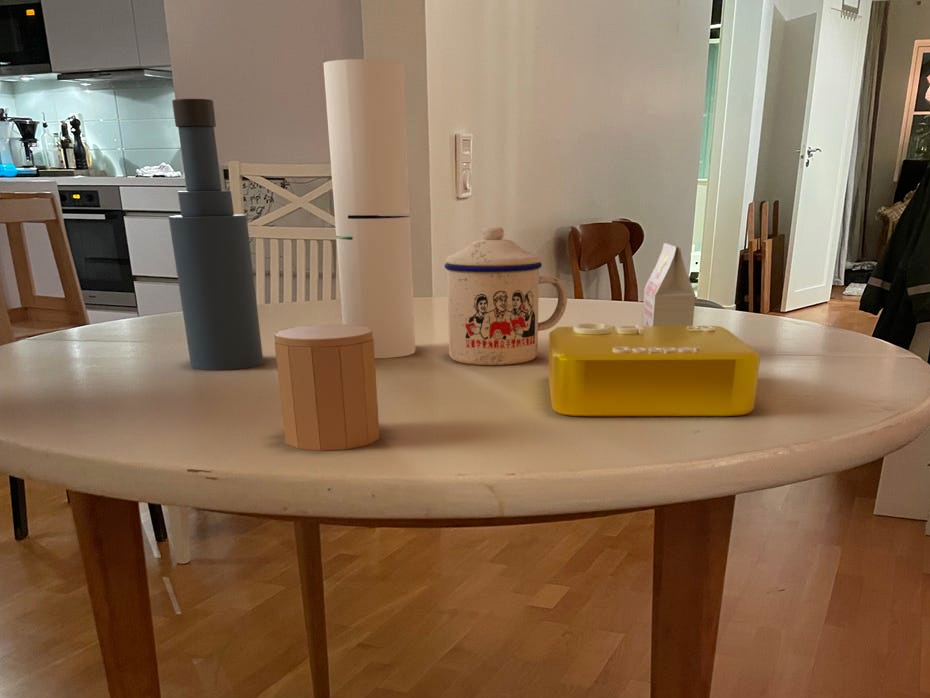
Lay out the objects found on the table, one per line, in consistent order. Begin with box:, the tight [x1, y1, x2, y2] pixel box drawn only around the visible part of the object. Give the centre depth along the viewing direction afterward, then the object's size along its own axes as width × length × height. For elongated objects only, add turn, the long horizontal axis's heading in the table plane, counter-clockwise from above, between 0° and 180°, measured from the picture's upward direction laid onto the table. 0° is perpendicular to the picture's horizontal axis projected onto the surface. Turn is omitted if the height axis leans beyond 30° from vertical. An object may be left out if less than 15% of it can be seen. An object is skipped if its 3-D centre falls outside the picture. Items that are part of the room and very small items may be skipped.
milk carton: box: [641, 242, 696, 326], centre depth 87 cm, size 4×7×10 cm, turn 179°
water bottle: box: [168, 98, 264, 371], centre depth 84 cm, size 7×7×22 cm
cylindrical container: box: [323, 58, 416, 359], centre depth 88 cm, size 7×7×25 cm
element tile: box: [548, 322, 761, 417], centre depth 72 cm, size 15×15×5 cm
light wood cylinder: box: [273, 324, 380, 452], centre depth 61 cm, size 6×6×7 cm
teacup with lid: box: [444, 226, 568, 366], centre depth 87 cm, size 12×9×12 cm
